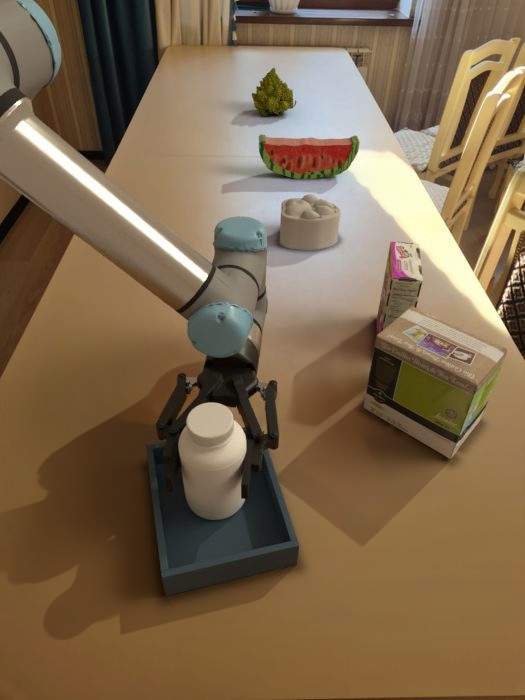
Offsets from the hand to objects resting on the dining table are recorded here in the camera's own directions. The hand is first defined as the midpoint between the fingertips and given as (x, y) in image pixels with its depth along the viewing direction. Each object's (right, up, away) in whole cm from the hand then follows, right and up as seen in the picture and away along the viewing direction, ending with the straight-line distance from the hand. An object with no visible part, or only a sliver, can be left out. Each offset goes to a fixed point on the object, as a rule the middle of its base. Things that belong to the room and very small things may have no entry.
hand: (206, 488), depth 61 cm
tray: (+1, -5, +9) cm, 10 cm away
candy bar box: (+29, +18, +35) cm, 49 cm away
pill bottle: (0, -3, +9) cm, 10 cm away
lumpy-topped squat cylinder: (+17, +41, +62) cm, 76 cm away
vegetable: (+9, +98, +126) cm, 160 cm away
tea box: (+30, +6, +22) cm, 38 cm away
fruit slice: (+18, +64, +87) cm, 110 cm away
